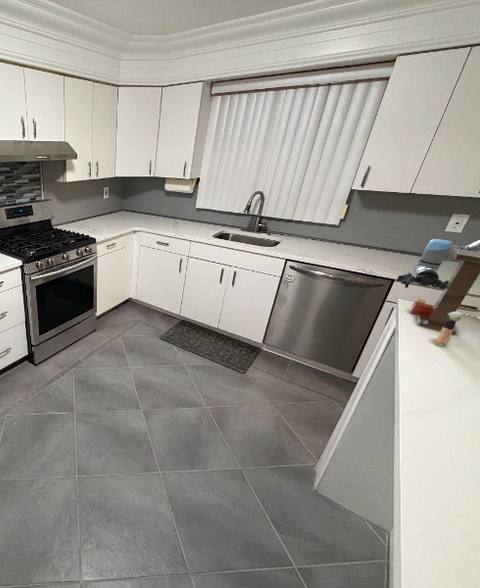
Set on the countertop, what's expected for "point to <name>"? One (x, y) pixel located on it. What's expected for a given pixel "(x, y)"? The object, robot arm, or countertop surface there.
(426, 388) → the countertop surface
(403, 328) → the countertop surface
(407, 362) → the countertop surface
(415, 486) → the countertop surface
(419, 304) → the toy mallet
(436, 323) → the shelf stand
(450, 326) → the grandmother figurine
